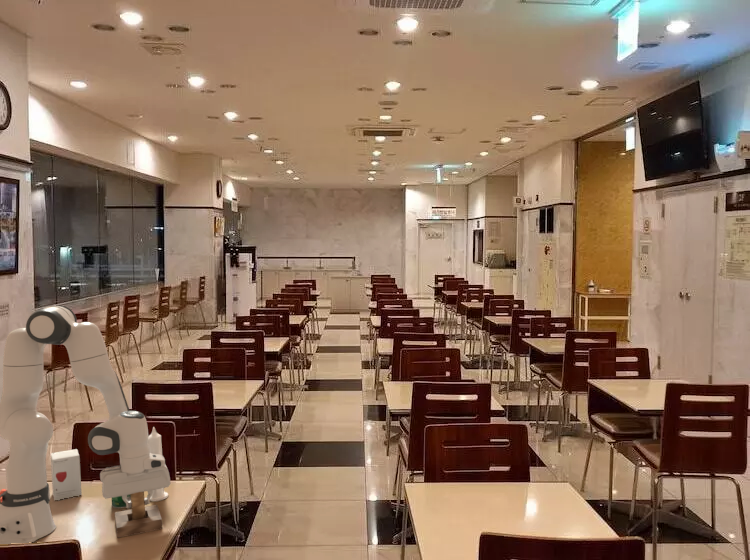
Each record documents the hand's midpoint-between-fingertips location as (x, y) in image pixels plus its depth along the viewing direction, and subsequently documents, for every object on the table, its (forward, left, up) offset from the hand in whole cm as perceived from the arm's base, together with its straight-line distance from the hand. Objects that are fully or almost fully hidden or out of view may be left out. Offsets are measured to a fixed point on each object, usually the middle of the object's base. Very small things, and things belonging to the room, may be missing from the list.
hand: (138, 505), depth 209 cm
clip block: (0, 0, -6) cm, 6 cm away
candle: (+8, +21, -6) cm, 23 cm away
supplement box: (-21, +40, -6) cm, 45 cm away
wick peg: (0, 0, -4) cm, 4 cm away
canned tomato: (-3, +21, -6) cm, 22 cm away
